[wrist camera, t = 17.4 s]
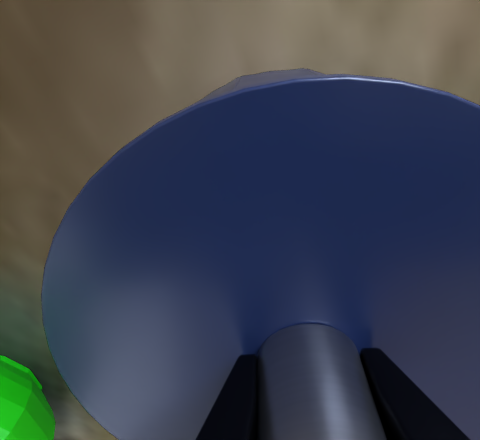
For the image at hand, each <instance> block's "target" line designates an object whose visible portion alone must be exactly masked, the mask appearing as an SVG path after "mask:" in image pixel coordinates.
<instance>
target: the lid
mask: <svg viewBox="0 0 480 440" xmlns="http://www.w3.org/2000/svg"><path fill="white" fill-rule="evenodd" d="M41 301H42V316H43V325H44V330H45V334H46V338H47V342H48V346H49V349H50V352H51V354H52V357H53V359H54V361H55V364H56V366H57V368H58V371H59V373H60V374H61V376H62V378H63V379H64V381H65V383H66V384H67V386H68V388H69V389H70V391H71V392H72V394H73V395H74V396H75V397H76V399H77V400H78V401H79V402H80V404H81V405H82V406H83V407H84V409H85V410H86V411H87V412H88V413H89V414H90V415H91V416H92V417H93V418H94V419H95V420H96V421H97V422H98V423H99V424H100V425H101V426H102V427H103V428H104V429H106V430H107V431H108V432H109V433H111V434H112V435H113V436H115V437H116V438H117V439H118V440H195V439H196V437H197V435H198V433H199V431H200V430H201V428H202V426H203V424H204V422H205V420H206V418H207V416H208V414H209V412H210V410H211V408H212V406H213V404H214V403H215V401H216V399H217V397H218V395H219V393H220V391H221V389H222V387H223V385H224V383H225V381H226V379H227V377H228V375H229V374H230V372H231V370H232V368H233V366H234V364H235V362H236V360H237V358H238V357H239V356H240V355H242V354H255V355H256V356H257V382H258V422H257V440H387V438H386V435H385V432H384V429H383V426H382V423H381V420H380V417H379V414H378V411H377V408H376V405H375V402H374V399H373V396H372V393H371V390H370V387H369V384H368V381H367V378H366V375H365V372H364V369H363V366H362V362H361V359H360V350H361V349H362V348H374V347H376V348H379V349H381V350H382V351H383V352H384V353H385V354H386V355H387V356H388V357H389V358H390V359H391V360H392V361H393V362H394V363H395V364H396V365H397V366H398V367H399V368H400V369H401V370H402V371H403V372H404V373H405V374H406V375H407V376H408V377H409V378H410V379H411V380H412V381H413V382H414V383H415V384H416V385H417V386H418V387H419V388H420V389H421V390H422V391H423V392H424V393H425V394H426V395H427V396H428V397H429V398H430V399H431V400H432V401H433V402H434V403H435V404H436V405H437V406H438V407H439V408H440V409H441V410H442V411H443V412H444V413H445V415H446V416H447V417H448V418H449V419H450V420H451V421H452V422H453V423H454V424H455V425H456V426H457V427H458V428H459V429H460V430H461V431H462V432H463V433H464V434H465V435H466V436H467V437H468V438H469V439H470V440H480V105H478V104H475V103H473V102H470V101H468V100H466V99H463V98H461V97H458V96H456V95H453V94H451V93H449V92H445V91H441V90H438V89H433V88H429V87H425V86H421V85H417V84H413V83H409V82H404V81H400V80H396V79H392V78H382V77H371V76H360V75H349V74H330V75H311V76H292V77H287V78H282V79H276V80H271V81H266V82H261V83H256V84H250V85H245V86H242V87H239V88H236V89H233V90H230V91H227V92H224V93H221V94H218V95H215V96H212V97H209V98H207V99H204V100H201V101H198V102H196V103H194V104H192V105H190V106H188V107H186V108H184V109H183V110H181V111H179V112H177V113H175V114H173V115H171V116H169V117H167V118H165V119H163V120H161V121H159V122H158V123H156V124H155V125H153V126H152V127H151V128H149V129H148V130H146V131H145V132H143V133H142V134H141V135H139V136H138V137H136V138H135V139H134V140H132V141H131V142H129V143H128V144H127V145H125V146H124V147H123V148H121V149H120V150H119V151H118V152H117V153H116V154H115V155H114V156H113V157H112V158H111V159H110V160H109V161H108V162H107V163H106V164H105V165H103V166H102V167H101V168H100V169H99V170H98V171H97V172H96V173H95V174H94V175H93V176H92V177H91V178H90V179H89V181H88V182H87V183H86V185H85V186H84V187H83V189H82V190H81V191H80V193H79V194H78V195H77V197H76V198H75V199H74V201H73V202H72V203H71V205H70V206H69V208H68V209H67V211H66V213H65V215H64V217H63V219H62V221H61V223H60V225H59V227H58V229H57V231H56V233H55V235H54V237H53V240H52V244H51V247H50V250H49V254H48V257H47V260H46V264H45V267H44V276H43V285H42V294H41Z"/></svg>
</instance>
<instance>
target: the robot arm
mask: <svg viewBox="0 0 480 440" xmlns="http://www.w3.org/2000/svg"><path fill="white" fill-rule="evenodd" d="M360 359H361V362H362V366H363V369H364V372H365V375H366V378H367V381H368V384H369V387H370V390H371V393H372V396H373V399H374V402H375V405H376V408H377V411H378V414H379V417H380V420H381V423H382V426H383V429H384V432H385V435H386V438H387V440H470V439H469V438H468V437H467V436H466V435H465V434H464V433H463V432H462V431H461V430H460V429H459V428H458V427H457V426H456V425H455V424H454V423H453V422H452V421H451V420H450V419H449V418H448V417H447V416H446V415H445V413H444V412H443V411H442V410H441V409H440V408H439V407H438V406H437V405H436V404H435V403H434V402H433V401H432V400H431V399H430V398H429V397H428V396H427V395H426V394H425V393H424V392H423V391H422V390H421V389H420V388H419V387H418V386H417V385H416V384H415V383H414V382H413V381H412V380H411V379H410V378H409V377H408V376H407V375H406V374H405V373H404V372H403V371H402V370H401V369H400V368H399V367H398V366H397V365H396V364H395V363H394V362H393V361H392V360H391V359H390V358H389V357H388V356H387V355H386V354H385V353H384V352H383V351H382V350H381V349H379V348H376V347H374V348H362V349H361V350H360ZM257 422H258V382H257V356H256V355H255V354H242V355H240V356H239V357H238V358H237V360H236V362H235V364H234V366H233V368H232V370H231V372H230V374H229V375H228V377H227V379H226V381H225V383H224V385H223V387H222V389H221V391H220V393H219V395H218V397H217V399H216V401H215V403H214V404H213V406H212V408H211V410H210V412H209V414H208V416H207V418H206V420H205V422H204V424H203V426H202V428H201V430H200V431H199V433H198V435H197V437H196V439H195V440H257Z"/></svg>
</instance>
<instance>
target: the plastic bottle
mask: <svg viewBox="0 0 480 440" xmlns="http://www.w3.org/2000/svg"><path fill="white" fill-rule="evenodd" d="M42 388H43V387H42V386H41V384H40V383H39V381H38V380H37V379H36V377H35V376H34V374H33V373H32V372H31V370H30V369H28V368H27V367H25V366H23V365H21V364H19V363H17V362H15V361H13V360H11V359H9V358H7V357H5V356H1V355H0V440H53V439H54V430H55V419H54V415H53V411H52V409H51V407H50V405H49V404H48V402H47V400H46V397H45V395H44V394H43V393H42Z"/></svg>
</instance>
